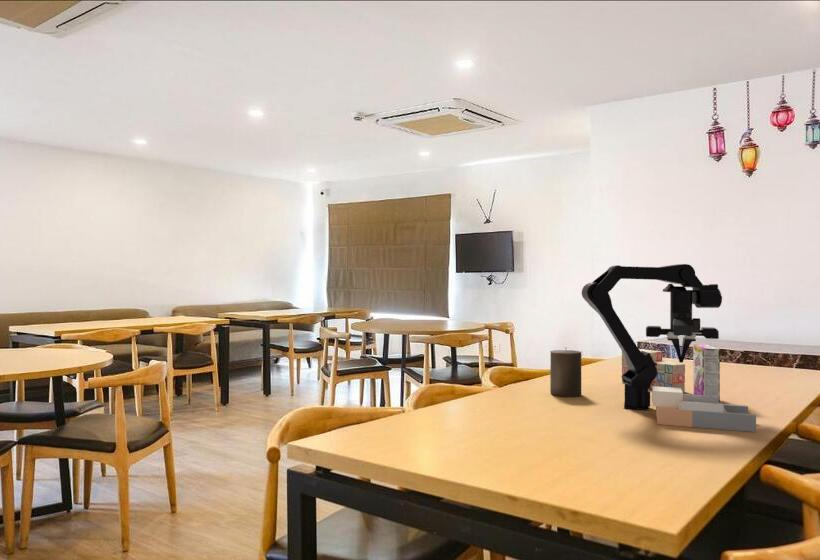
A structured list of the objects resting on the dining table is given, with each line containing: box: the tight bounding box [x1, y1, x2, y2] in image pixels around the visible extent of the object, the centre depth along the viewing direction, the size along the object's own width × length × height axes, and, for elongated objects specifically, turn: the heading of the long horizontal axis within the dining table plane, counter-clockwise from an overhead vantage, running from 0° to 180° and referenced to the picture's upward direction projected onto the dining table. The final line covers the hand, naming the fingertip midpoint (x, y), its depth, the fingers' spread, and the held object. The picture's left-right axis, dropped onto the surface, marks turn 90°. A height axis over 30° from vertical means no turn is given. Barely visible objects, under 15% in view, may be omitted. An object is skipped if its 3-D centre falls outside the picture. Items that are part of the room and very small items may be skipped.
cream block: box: [651, 386, 684, 408], centre depth 157 cm, size 7×7×4 cm
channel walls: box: [679, 393, 724, 413], centre depth 155 cm, size 10×11×2 cm
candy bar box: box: [692, 344, 721, 404], centre depth 182 cm, size 11×5×16 cm, turn 168°
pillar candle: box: [549, 347, 582, 398], centre depth 191 cm, size 10×10×15 cm
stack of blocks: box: [621, 348, 686, 393], centre depth 203 cm, size 21×6×12 cm, turn 27°
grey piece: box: [655, 403, 757, 433], centre depth 154 cm, size 22×12×4 cm, turn 70°
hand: (681, 362), depth 171 cm, fingers closed
